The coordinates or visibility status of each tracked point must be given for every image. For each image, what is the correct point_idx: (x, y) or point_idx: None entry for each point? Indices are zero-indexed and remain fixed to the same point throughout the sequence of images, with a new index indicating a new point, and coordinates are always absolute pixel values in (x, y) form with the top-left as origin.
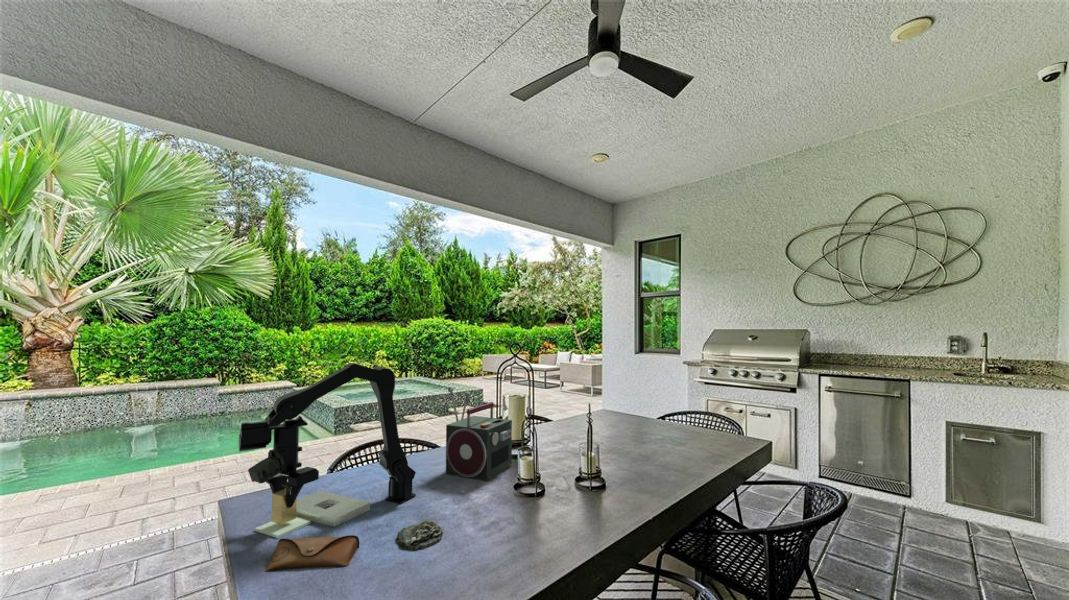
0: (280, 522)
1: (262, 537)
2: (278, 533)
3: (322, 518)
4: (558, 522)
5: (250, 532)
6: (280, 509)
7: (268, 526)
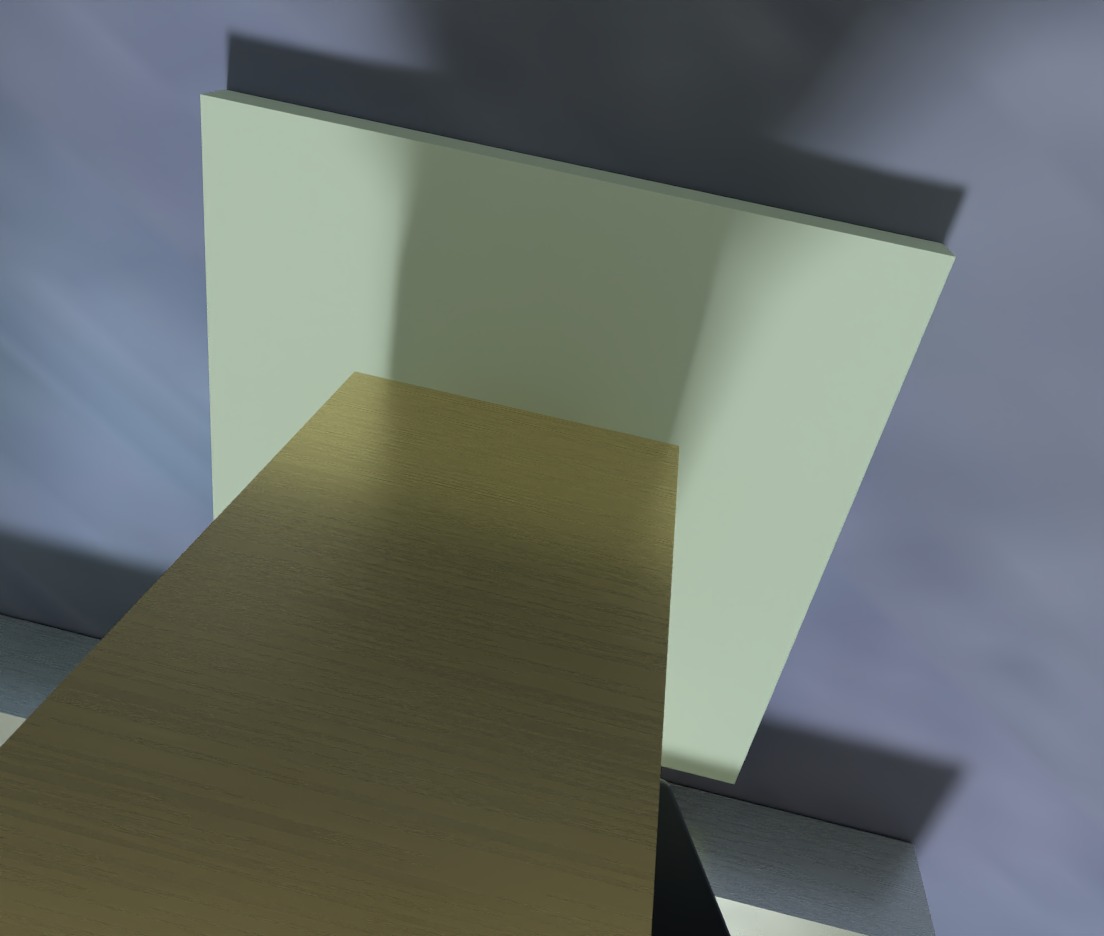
0: (369, 393)
1: (538, 35)
2: (273, 179)
3: (22, 686)
4: None
5: (985, 160)
6: (265, 551)
7: (714, 380)
